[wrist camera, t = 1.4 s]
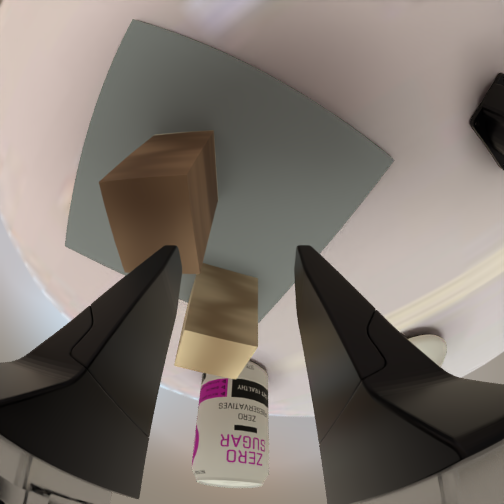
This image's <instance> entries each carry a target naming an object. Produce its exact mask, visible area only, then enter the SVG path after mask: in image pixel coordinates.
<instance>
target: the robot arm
mask: <svg viewBox="0 0 504 504" xmlns="http://www.w3.org/2000/svg"><path fill="white" fill-rule="evenodd" d="M503 79H504V73H499V75H498V76H497V78H496V80H495V82H494V83H493V85H492V87H491V88H490V90H489V92H488V93H487V95H486V97H485V98H484V100H483V101H482V103H481V105H480V106H479V108H478V109H477V111H476V112H475V114H474V115H473V117H472V118H471V121H470V125H471V127H472V128H473V130H474V131H475V132H476V134H477V135H478V136H479V138H480V139H481V140H482V142H483V143H484V145H485V146H486V147H487V149H488V150H489V152H490V153H491V155H492V156H493V158H494V159H495V161H496V162H497V164H498V165H499V167H500V168H501V169H503V170H504V165H503V164H504V80H503ZM476 122H477V124H476V125H475V123H476ZM294 277H295V292H296V309H297V318H298V324H299V329H300V335H301V340H302V345H303V351H304V356H305V362H306V367H307V373H308V379H309V384H310V390H311V396H312V402H313V408H314V414H315V420H316V426H317V432H318V440H319V444H320V445H319V447H320V453H321V459H322V467H323V474H324V481H325V489H326V496H327V504H504V384H496V383H489V382H482V381H476V380H469V379H463V378H459V377H456V376H453V375H451V374H449V373H448V372H446V371H445V370H443V369H442V368H441V367H439V366H438V365H437V364H436V363H435V362H434V361H432V360H431V359H430V358H429V357H428V356H427V355H425V354H424V353H423V352H422V351H421V350H420V349H418V348H417V347H416V346H415V345H414V344H413V343H411V342H410V341H409V340H408V339H407V338H406V337H405V336H403V335H402V334H401V333H400V332H399V331H398V330H397V329H396V328H395V327H394V326H393V325H392V324H391V323H389V322H388V321H387V320H386V319H385V318H384V317H383V316H382V315H381V314H380V313H379V312H378V311H377V310H375V308H374V307H373V306H372V305H371V304H370V303H369V302H368V301H367V300H366V299H365V298H364V297H363V296H362V295H361V294H360V293H359V292H358V291H357V290H356V289H355V288H354V287H353V286H352V285H351V284H350V283H349V282H348V281H347V280H346V279H345V278H344V277H343V276H342V275H341V274H340V273H339V272H338V271H337V270H336V269H335V268H334V267H333V266H332V265H331V264H330V263H329V262H327V261H326V260H325V259H324V258H323V257H322V256H321V255H320V254H319V253H318V252H317V251H316V250H315V249H314V248H313V247H312V246H310V245H298V246H297V247H296V255H295V265H294ZM181 278H182V263H181V258H180V253H179V249H178V247H177V246H176V245H165V246H163V247H162V248H160V249H159V250H158V251H156V252H155V253H154V254H153V255H151V256H150V257H149V258H147V259H146V260H145V261H144V262H142V263H141V264H140V265H139V266H137V267H136V268H135V269H133V270H132V271H131V272H130V273H128V274H127V275H126V276H125V277H123V278H122V279H121V280H120V281H119V282H117V283H116V284H115V285H114V286H112V287H111V288H110V289H109V290H107V291H106V292H105V293H104V294H103V295H101V296H100V297H99V298H98V299H97V300H95V301H94V302H93V303H92V304H91V306H88V307H87V308H86V309H85V310H84V311H82V312H81V313H80V314H79V315H78V316H76V317H75V318H74V319H73V320H72V321H70V322H69V323H68V324H67V325H65V326H64V327H63V328H61V329H60V330H59V331H57V332H56V333H55V334H54V335H52V336H51V337H49V338H48V339H47V340H45V341H44V342H43V343H41V344H40V345H39V346H38V347H36V348H35V349H34V350H32V351H31V352H30V353H28V354H27V355H26V356H24V357H22V358H20V359H18V360H15V361H12V362H5V363H0V504H110V502H111V496H112V492H114V493H117V494H120V495H124V496H127V497H131V498H135V499H139V496H140V490H141V483H142V476H143V470H144V464H145V458H146V453H147V447H148V441H149V438H148V437H149V435H150V429H151V424H152V419H153V414H154V409H155V405H156V400H157V395H158V390H159V386H160V381H161V377H162V372H163V368H164V364H165V359H166V355H167V351H168V347H169V343H170V338H171V334H172V330H173V326H174V322H175V318H176V314H177V307H178V299H179V292H180V285H181Z"/></svg>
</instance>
